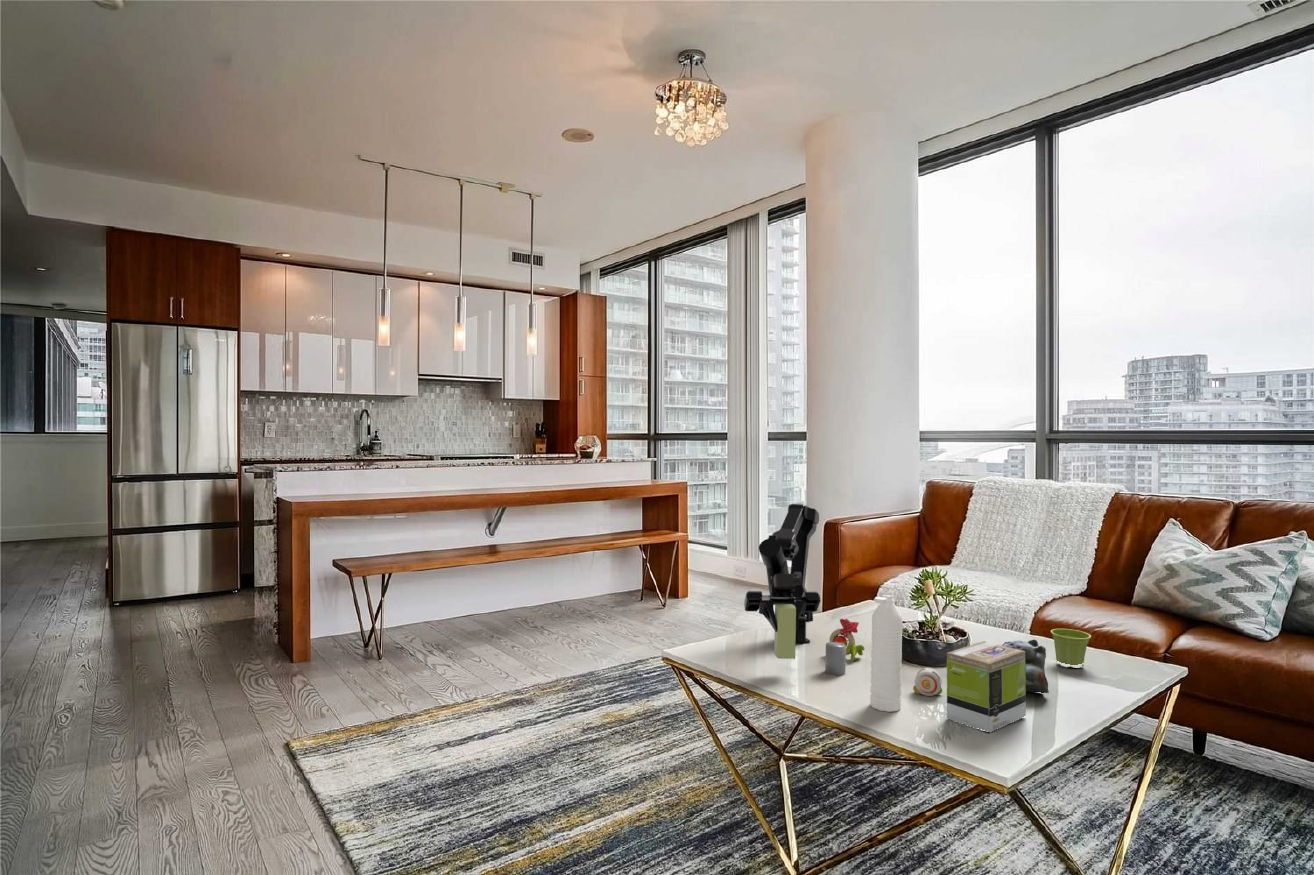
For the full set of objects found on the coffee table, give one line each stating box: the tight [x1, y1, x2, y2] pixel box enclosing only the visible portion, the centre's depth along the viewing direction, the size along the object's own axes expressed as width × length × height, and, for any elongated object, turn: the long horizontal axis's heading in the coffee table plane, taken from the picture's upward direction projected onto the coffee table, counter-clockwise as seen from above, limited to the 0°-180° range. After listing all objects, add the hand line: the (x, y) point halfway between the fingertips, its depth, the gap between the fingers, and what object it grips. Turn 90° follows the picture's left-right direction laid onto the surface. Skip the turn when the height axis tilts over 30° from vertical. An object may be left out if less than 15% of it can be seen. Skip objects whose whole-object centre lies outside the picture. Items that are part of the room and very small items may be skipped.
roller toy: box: [912, 667, 943, 697], centre depth 176 cm, size 4×6×6 cm
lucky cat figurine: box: [1001, 639, 1050, 694], centre depth 180 cm, size 15×12×14 cm
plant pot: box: [1050, 628, 1092, 665], centre depth 199 cm, size 9×9×9 cm
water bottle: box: [869, 594, 904, 713], centre depth 166 cm, size 9×6×25 cm
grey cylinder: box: [824, 642, 847, 677], centre depth 191 cm, size 5×5×7 cm
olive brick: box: [773, 604, 796, 660], centre depth 188 cm, size 4×4×12 cm
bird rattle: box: [828, 618, 865, 662], centre depth 203 cm, size 6×11×9 cm
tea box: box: [946, 641, 1027, 733], centre depth 161 cm, size 15×10×15 cm, turn 127°
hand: (786, 631), depth 186 cm, fingers closed on olive brick, 4 cm apart
